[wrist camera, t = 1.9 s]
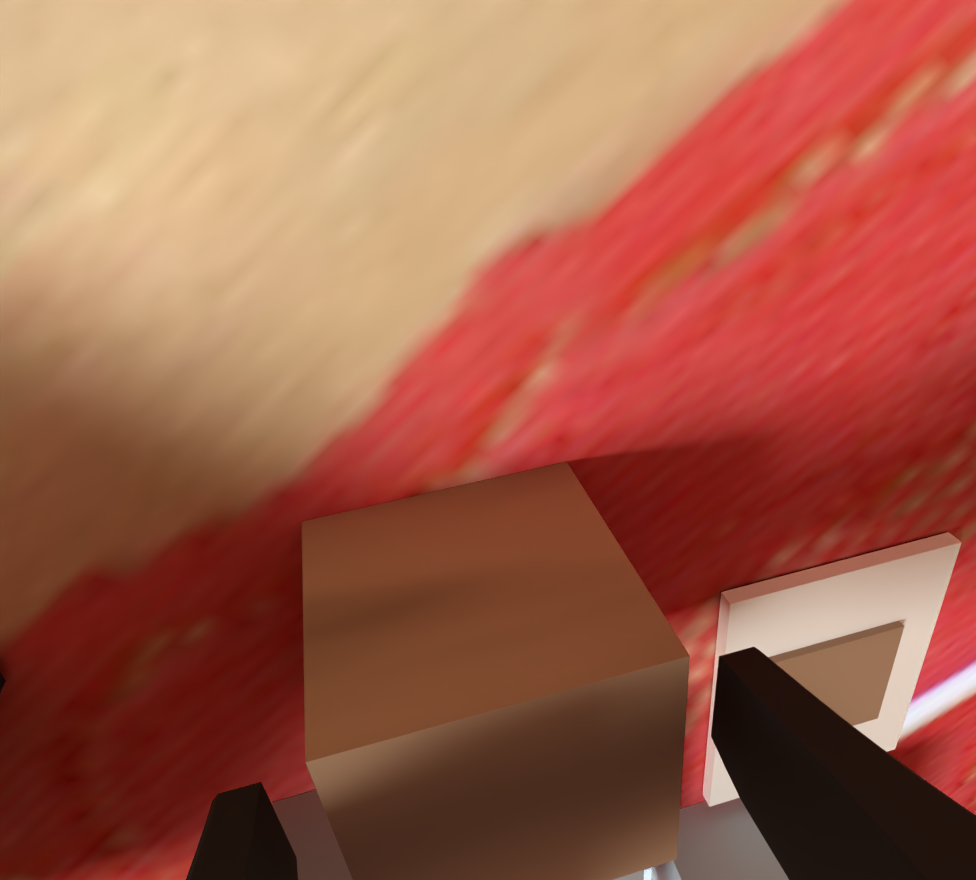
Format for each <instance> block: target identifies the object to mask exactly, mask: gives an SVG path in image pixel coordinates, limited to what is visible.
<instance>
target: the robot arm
mask: <svg viewBox="0 0 976 880" xmlns="http://www.w3.org/2000/svg"><path fill="white" fill-rule="evenodd" d="M711 738H712V740H713V742H714V744H715V746H716V748H717V751H718V753H719V755H720V757H721V759H722V762H723V764H724V766H725V768H726V770H727V772H728V774H729V776H730V779H731V781H732V783H733V785H734V787H735V789H736V791H737V793H738V795H739V797H740V799H741V801H742V803H743V804H744V806H745V808H746V809H747V811H748V813H749V814H750V816H751V818H752V819H753V821H754V823H755V824H756V826H757V828H758V829H759V831H760V833H761V834H762V836H763V838H764V839H765V841H766V843H767V844H768V846H769V848H770V849H771V851H772V852H773V854H774V856H775V857H776V859H777V861H778V862H779V864H780V866H781V867H782V869H783V870H784V872H785V874H786V875H787V877H788V879H789V880H976V815H974V814H973V813H971V812H970V811H968V810H967V809H965V808H964V807H963V806H961V805H960V804H958V803H957V802H955V801H954V800H953V799H951V798H950V797H948V796H947V795H945V794H944V793H942V792H941V791H940V790H938V789H937V788H935V787H934V786H932V785H931V784H930V783H928V782H927V781H925V780H924V779H923V778H921V777H920V776H919V775H917V774H916V773H914V772H913V771H912V770H910V769H909V768H908V767H906V766H905V765H903V764H902V763H901V762H899V761H898V760H897V759H895V758H894V757H893V756H892V755H890V754H889V753H888V752H886V751H885V750H884V749H882V748H881V747H880V746H878V745H877V744H876V743H874V742H873V741H872V740H870V739H869V738H868V737H866V736H865V735H864V734H862V733H861V732H860V731H859V730H857V729H856V728H855V727H853V726H852V725H851V724H850V723H848V722H847V721H846V720H844V719H843V718H842V717H841V716H839V715H838V714H837V713H836V712H834V711H833V710H832V709H831V708H829V707H828V706H827V705H826V704H824V703H823V702H822V701H821V700H819V699H818V698H817V697H816V696H815V695H813V694H812V693H811V692H810V691H808V690H807V689H806V688H805V687H803V686H802V685H801V684H800V683H799V682H797V681H796V680H795V679H794V678H793V677H791V676H790V675H789V674H788V673H786V672H785V671H784V670H783V669H782V668H780V667H779V666H778V665H777V664H776V663H774V662H773V661H772V660H771V659H770V658H768V657H767V656H766V655H765V654H764V653H762V652H761V651H760V650H758V649H757V648H755V647H751V648H747V649H743V650H740V651H736V652H732V653H729V654H725V655H721V656H719V660H718V670H717V680H716V690H715V700H714V710H713V720H712V730H711ZM186 880H298V871H297V857H296V855H295V853H294V851H293V849H292V847H291V844H290V842H289V840H288V838H287V836H286V834H285V832H284V830H283V827H282V825H281V823H280V821H279V819H278V817H277V815H276V813H275V811H274V808H273V806H272V804H271V802H270V800H269V798H268V796H267V794H266V791H265V789H264V787H263V785H262V783H261V782H260V783H256V784H252V785H249V786H245V787H242V788H238V789H234V790H231V791H227V792H223V793H220V794H218V795H217V796H216V797H215V799H214V800H213V801H212V805H211V808H210V811H209V814H208V817H207V820H206V823H205V826H204V829H203V832H202V835H201V838H200V841H199V844H198V847H197V850H196V853H195V856H194V859H193V861H192V864H191V867H190V870H189V873H188V875H187V878H186Z"/></svg>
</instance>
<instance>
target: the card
mask: <svg viewBox="0 0 976 880" xmlns="http://www.w3.org/2000/svg"><path fill="white" fill-rule="evenodd" d="M961 543H962V542H961V541H959V540H958V539H957V538H956V537H954V536H953V535H952V534H950V533H949V532H947V533H943V534H940V535H936V536H932V537H928V538H924V539H921V540H917V541H913V542H909V543H906V544H902V545H898V546H894V547H890V548H887V549H883V550H879V551H875V552H871V553H868V554H864V555H860V556H856V557H852V558H849V559H845V560H841V561H837V562H834V563H830V564H826V565H822V566H818V567H815V568H811V569H807V570H803V571H799V572H796V573H792V574H788V575H784V576H780V577H777V578H773V579H769V580H765V581H761V582H758V583H754V584H750V585H746V586H743V587H739V588H735V589H731V590H727V591H724V592H721V600H720V611H719V622H718V632H717V643H716V654H715V665H714V676H713V686H712V697H711V708H710V719H709V730H708V740H707V751H706V762H705V773H704V784H703V796H704V798H705V800H706V801H707V803H708V805H709V807H711V806H714V805H717V804H720V803H724V802H727V801H730V800H733V799H736V798H740V797H739V795H738V793H737V791H736V789H735V787H734V785H733V783H732V781H731V779H730V776H729V774H728V772H727V770H726V768H725V766H724V764H723V762H722V759H721V757H720V755H719V753H718V751H717V748H716V746H715V744H714V742H713V740H712V738H711V730H712V720H713V710H714V700H715V690H716V680H717V670H718V660H719V656H721V655H725V654H729V653H732V652H736V651H740V650H743V649H747V648H751V647H755V648H757V649H758V650H760V651H761V652H762V653H764V654H765V655H766V656H767V657H768V658H770V659H771V660H772V661H773V662H774V663H776V664H777V665H778V666H779V667H780V668H782V669H783V670H784V671H785V672H786V673H788V674H789V675H790V676H791V677H793V678H794V679H795V680H796V681H797V682H799V683H800V684H801V685H802V686H803V687H805V688H806V689H807V690H808V691H810V692H811V693H812V694H813V695H815V696H816V697H817V698H818V699H819V700H821V701H822V702H823V703H824V704H826V705H827V706H828V707H829V708H831V709H832V710H833V711H834V712H836V713H837V714H838V715H839V716H841V717H842V718H843V719H844V720H846V721H847V722H848V723H850V724H851V725H852V726H853V727H855V728H856V729H857V730H859V731H860V732H861V733H862V734H864V735H865V736H866V737H868V738H869V739H870V740H872V741H873V742H874V743H876V744H877V745H878V746H880V747H881V748H882V749H884V750H885V751H886V752H888V751H891V750H894V749H895V748H896V745H897V742H898V739H899V736H900V733H901V730H902V726H903V723H904V720H905V717H906V714H907V711H908V708H909V705H910V702H911V698H912V695H913V692H914V689H915V686H916V683H917V680H918V677H919V674H920V671H921V667H922V664H923V661H924V658H925V655H926V652H927V649H928V646H929V643H930V639H931V636H932V633H933V630H934V627H935V624H936V621H937V618H938V615H939V611H940V608H941V605H942V602H943V599H944V596H945V593H946V590H947V587H948V584H949V580H950V577H951V574H952V571H953V568H954V565H955V562H956V559H957V556H958V552H959V549H960V546H961Z"/></svg>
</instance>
